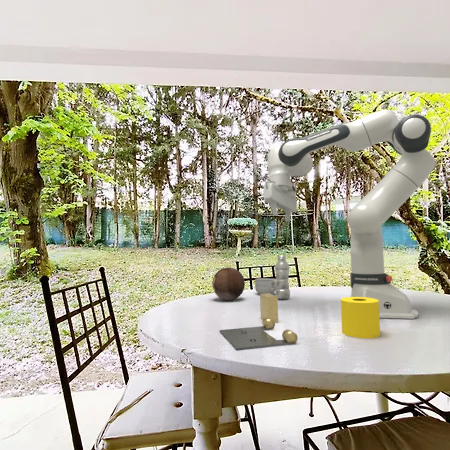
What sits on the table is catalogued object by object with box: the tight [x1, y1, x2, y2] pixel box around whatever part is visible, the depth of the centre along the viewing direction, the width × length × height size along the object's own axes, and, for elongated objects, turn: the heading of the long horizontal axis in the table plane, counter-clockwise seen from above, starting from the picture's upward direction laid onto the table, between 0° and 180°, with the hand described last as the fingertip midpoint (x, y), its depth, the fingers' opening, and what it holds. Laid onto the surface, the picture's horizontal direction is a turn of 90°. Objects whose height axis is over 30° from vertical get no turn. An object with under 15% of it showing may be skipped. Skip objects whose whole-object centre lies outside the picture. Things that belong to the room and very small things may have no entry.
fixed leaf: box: [219, 318, 299, 351], centre depth 93 cm, size 18×16×3 cm
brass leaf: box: [259, 293, 279, 324], centre depth 113 cm, size 7×4×8 cm, turn 15°
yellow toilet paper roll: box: [340, 296, 381, 339], centre depth 95 cm, size 10×10×9 cm
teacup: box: [254, 277, 277, 295], centre depth 167 cm, size 14×11×8 cm
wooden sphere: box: [211, 266, 246, 301], centre depth 154 cm, size 15×15×15 cm
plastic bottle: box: [274, 254, 291, 301], centre depth 153 cm, size 6×7×20 cm
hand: (281, 218), depth 131 cm, fingers open, 8 cm apart
